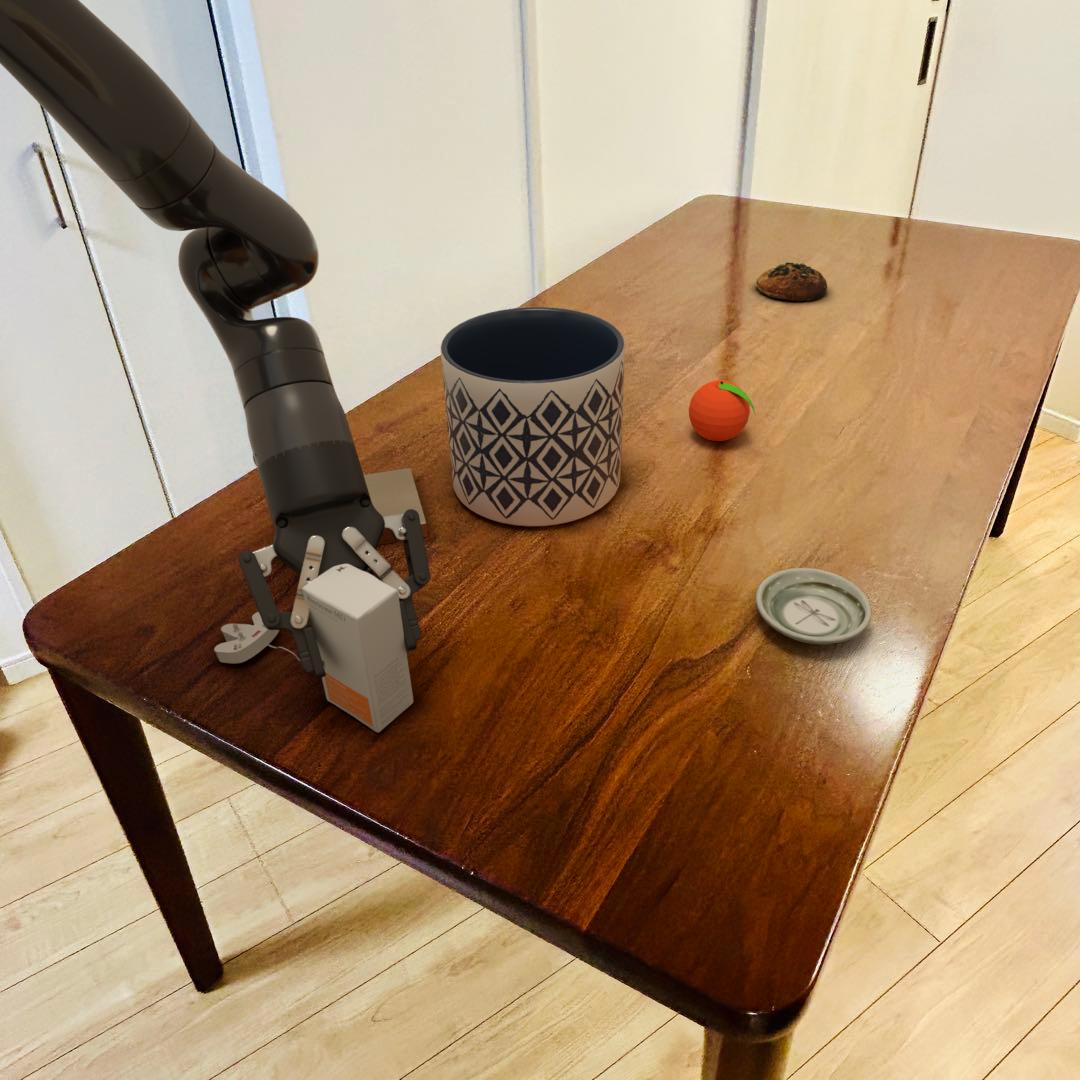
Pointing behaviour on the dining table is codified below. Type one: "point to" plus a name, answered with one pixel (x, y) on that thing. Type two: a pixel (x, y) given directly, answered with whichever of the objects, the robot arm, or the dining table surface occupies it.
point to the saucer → (813, 606)
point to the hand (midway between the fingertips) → (366, 662)
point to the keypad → (394, 497)
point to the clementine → (719, 410)
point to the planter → (534, 413)
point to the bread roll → (792, 282)
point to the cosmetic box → (360, 644)
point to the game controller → (245, 641)
